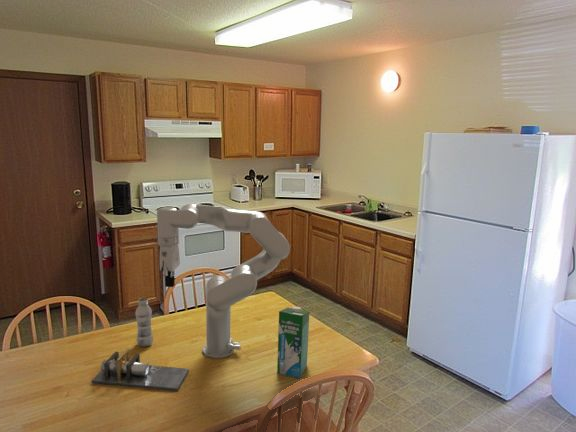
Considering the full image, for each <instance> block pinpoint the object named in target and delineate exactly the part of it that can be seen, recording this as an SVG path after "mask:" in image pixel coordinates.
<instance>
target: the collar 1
mask: <svg viewBox="0 0 576 432" xmlns="http://www.w3.org/2000/svg"><path fill="white" fill-rule="evenodd" d="M119 353H120V351H115V352H114V353H112V355H110V356H109V357H108V359H106V360H107V361H106V362H105V363H104V369H105V378H109V377H110V367H109V364H110V363H111V361H112V360H115V361H117V359H118V358H119V356H120V354H119Z"/></svg>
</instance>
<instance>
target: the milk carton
mask: <svg viewBox="0 0 576 432" xmlns="http://www.w3.org/2000/svg"><path fill="white" fill-rule="evenodd" d="M309 330H310V311H308V310H303V309H302V307H300V306H290V307H286V308H284V309H282V310H280V311H278V335H277V343H278V344H277V367H276V371H277V372H276V373H277V374H279V373H280V374H279V375H283V374H285V375H284V376H288V375H290V376H289V377H292V376H294V377H293V378H296V377H298V378H297V379H301V378H302V376H301V375H303V374H304V372H305V370H306V368H307V366H308V351H309V350H308V349H309V334H310V333H309Z"/></svg>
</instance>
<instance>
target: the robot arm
mask: <svg viewBox="0 0 576 432" xmlns="http://www.w3.org/2000/svg"><path fill="white" fill-rule="evenodd" d="M198 224H205V225H210V226H214V227H217V228H218V229H220V230H222V231H224V232H235V233H247V234H248V233H249V234H250V235H251V237H253V239H254V240H255V241H256V242H257V244H258V245H259V246H260V247H261V248H262V251H261V252H260V253H258V254H256V255H255V256H254V257H252V258H250V259H248V260H246V261H245V262H242V263H241V264H238V265H236V266H235V267H234V268H233V269H232V271H231V273H230V278H229V279H228V278H226V277H225V276H224V275H219V274H218V275H217V274H216V275H213V276H212V277H210V278H209V279H208V281H207V283H206V286H205V305H206V306H205V307H206V309H205V311H206V313H205V314H206V315H205V316H206V318H205V320H206V321H205V322H206V325H205V327H206V344H205V345H203V347H202V353H203V356H205V357H207V358H209V359H216V360H217V359H224V358H227V357H229V356H230V355H232V354H233V353H234V352H235V350H236V351H241V348H242V347H241V344H240V343H239V341H233V338H232V337H231V307H232V306H233V305H235V304H237V303H239V302H240V301H241V302H242V301H243V300H244V299H246V298H248V297H250V296H251V295H252V294H254V292H255V291H256V290H257V286H258V281H259V280H260V279H261V278H263V277H265V276H267V275H268V274H270V273H271V272H273V270H275V269H276V268H277V266H278V265H279V264H280V263H281V260H284V259H286V258H288V256H289V254H290V252H291V245H290V243H289V241H288V240H287V238H286V237H285V235H284V234H283V233H282V232H280V231H279V230H278V229H276V227H275V226H274V225H273V224H272V223H271V221H270V220H269V217H267V215H266V214H265V213H264V212H262V211H255V210H246V209H245V210H244V209H232V208H225V207H220V206H213V205H208V204H207V205H205V204H196V203H195V204H194V203H188V204H185V205H183V206H182V207H181V208H180V209H177V208H176V207H173V206H165V207H159V208H158V209H157V211H156V225H157V226H156V228H157V244H158V246H159V271H160V272H162V276H163V277H164V286H165V287H166V288H174V286H175V284H176V283H175V275H176V274H175V271H176V269H178V267H179V266H180V264H181V263H180V262H181V260H180V248H179V247H180V246H179V244H180V243H179V242H180V240H179V239H180V237H179V232H180V231H179V229H187V230H188V229H189V230H190V229H194V228H195V227H196V226H197V225H198Z"/></svg>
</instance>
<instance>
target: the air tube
mask: <svg viewBox="0 0 576 432" xmlns="http://www.w3.org/2000/svg"><path fill="white" fill-rule="evenodd" d="M107 360H108V359H103V361H102V362H101V365H100V371H104V372H105V369H104V363H105V362H106V361H107ZM127 364H128V362H126V360H124V361H122V360H121V372H122V374H123V373H126V365H127ZM109 367H110V372H116V373H117V361H115V360H114V359H113V360H112V361H111V363H110V364H109ZM148 370H149V363H147V362H140V363H138V362H134V363H133V364H132V365H131V374H138V375H146V374H147V373H148Z"/></svg>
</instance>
